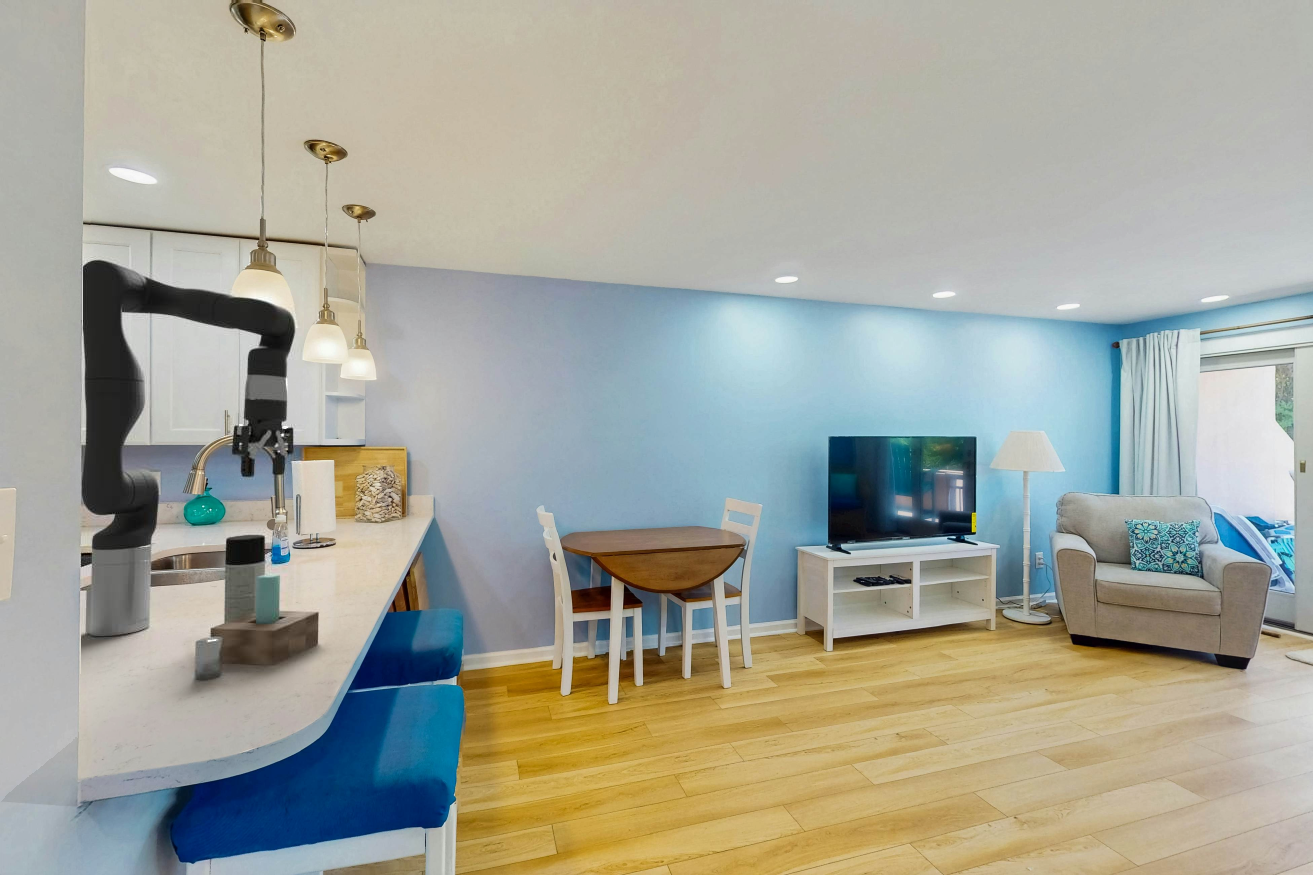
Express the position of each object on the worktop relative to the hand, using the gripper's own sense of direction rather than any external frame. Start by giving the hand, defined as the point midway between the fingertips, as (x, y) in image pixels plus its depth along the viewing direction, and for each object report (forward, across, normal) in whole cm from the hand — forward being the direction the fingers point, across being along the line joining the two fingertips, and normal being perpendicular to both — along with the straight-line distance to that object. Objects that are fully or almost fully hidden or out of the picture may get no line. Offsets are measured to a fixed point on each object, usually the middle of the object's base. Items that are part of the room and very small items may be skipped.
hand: (263, 475), depth 127 cm
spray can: (+32, +5, +1) cm, 33 cm away
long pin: (+32, +13, +12) cm, 36 cm away
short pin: (+32, +25, +11) cm, 42 cm away
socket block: (+32, +13, +12) cm, 36 cm away
